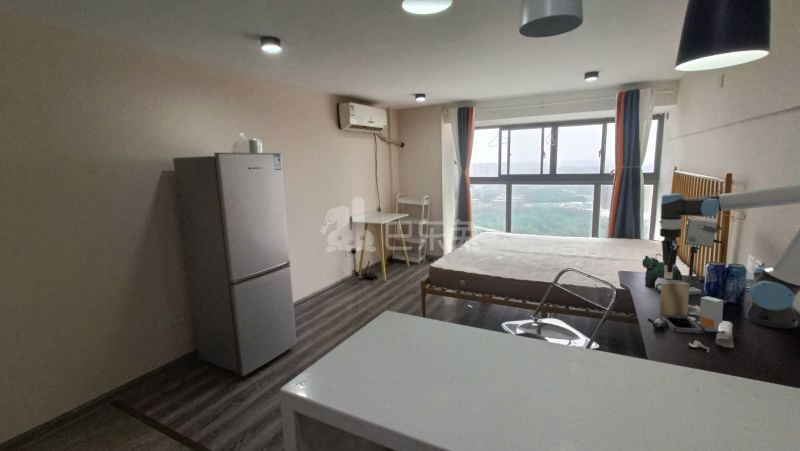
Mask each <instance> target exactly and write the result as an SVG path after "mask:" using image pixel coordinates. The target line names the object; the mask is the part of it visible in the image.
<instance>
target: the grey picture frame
mask: <svg viewBox="0 0 800 451" xmlns="http://www.w3.org/2000/svg"><path fill="white" fill-rule="evenodd" d="M661 317H662V318H664V319H665V320H666V322H667V323H668V325H667V326H668V327H669V328H670V329H671V331H673V333H674V332H675V333H676V332H677V333H692V334H704V331H705V330H704V329H703V328H702V327H701V326H700V325H699V324H697V323H696V321H694V320H693V319H692V318H690V317H689V316H688V315H687V316H683V315H664V314H660V318H661ZM666 317H683V318H686V319H687V320H688V321H689V323H688V324H690V326H692V327H677V326H676V325H674V324H673V323H672V321H670V319H667V318H666Z"/></svg>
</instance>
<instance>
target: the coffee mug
mask: <svg viewBox="0 0 800 451" xmlns="http://www.w3.org/2000/svg"><path fill="white" fill-rule="evenodd" d="M682 281H683V280H682ZM682 281H677V280H665V281H664V283H686V282H685V281H683V282H682ZM658 286H662V283H658V284H655V289H656V290H657V291H658V292H659V293H660V294H661V290H659V289H658Z"/></svg>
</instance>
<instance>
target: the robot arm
mask: <svg viewBox="0 0 800 451" xmlns="http://www.w3.org/2000/svg"><path fill="white" fill-rule="evenodd" d="M799 204H800V183H798V184H791V185H781V186H776V187H775V186H774V187H768V188H760V189H752V190H751V189H750V190H744V191H736V192H735V191H733V192H729V193H719V194H711V195H709V194H707V195H701V196H700V197H698V198H685V197H683V194H682V193H665V194H663V195H662V196H661V203H660V220H659V222H658V223H660V229H659V236H660V237H661V238H664V239H663V240H661V248H662V249H661V250H662V262H664V263H665V272H664V278H665V279H664V278H663V279H664V280H666V279H672V278H673V265H674V266H675V265H677V264H676V263H677V258H678V251H679V248H680V245H678V241H677V238H681V236H682V229H681V228H682V222H683V219H682V216H689V217H690V216H694V217H706V218H707V217H717V216H718V215H719V212H727V211H734V210H746V209H758V208H766V207H767V208H768V207H778V206H788V205H799ZM752 274H753V281H752V284H751V287H750V288H749V295H750V298H751V302H750V305H749V306H748V308H747V310H746V312H745V319H746V320H747V321H749V322H751V323H753V324H757V325H758V326H759V325H760V326H764V327H768V328H775V329H783V330H784V329H795V328H797V327H798V319H797V316H796V313H795V310H794V307H793V304H794V303H795V298H796V296H797V295H798V294H799V293H800V228H799V229H798V230H797V232H796V233H795V235H794V236H793V237H792V238H791V240H790V242H789V243H788V244H787V246H786V247H785V248H784V249H783V251H782V252H781V254H780V255H779V257H778V258H777V259H776V261H775V262H774V264H773V265H772V266H770V267H766V266H765V267H764V266H761V267H759V266H758V267H755V268H754V270H753V273H752Z"/></svg>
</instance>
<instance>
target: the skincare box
mask: <svg viewBox="0 0 800 451" xmlns="http://www.w3.org/2000/svg"><path fill="white" fill-rule="evenodd" d="M699 306H700V307H699V308H700V309H699V322H700V323H699V324H701V325H704V326H707V327H710V328H712V329H718V326H719V324H720V323H721V322H722V323H723V312H724V300H723V299H719V298H716V297H712V296H710V295H709V296H708V295H707V296H703V297H702V296H701V297H700V305H699ZM699 324H698V325H699Z"/></svg>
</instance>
